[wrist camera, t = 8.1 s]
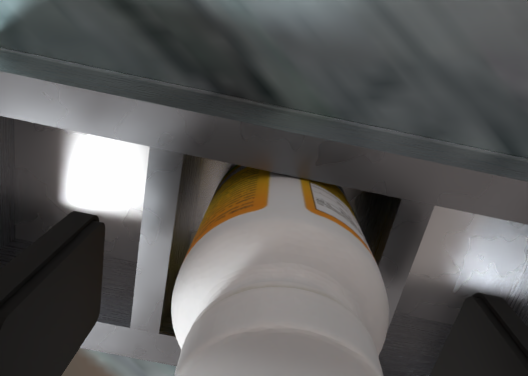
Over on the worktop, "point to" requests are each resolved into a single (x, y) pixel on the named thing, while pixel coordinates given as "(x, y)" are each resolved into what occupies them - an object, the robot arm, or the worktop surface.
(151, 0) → the worktop surface
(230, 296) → the supplement bottle
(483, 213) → the grey compartment tray
